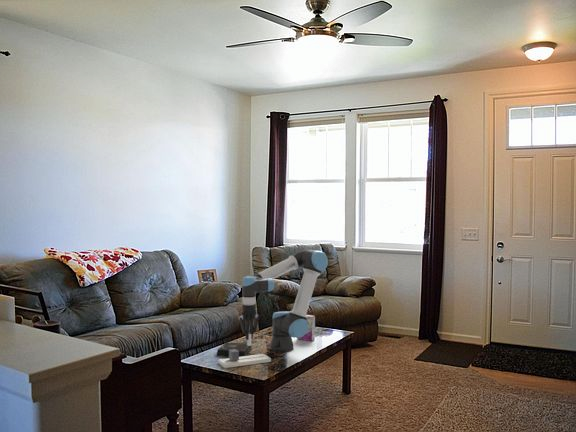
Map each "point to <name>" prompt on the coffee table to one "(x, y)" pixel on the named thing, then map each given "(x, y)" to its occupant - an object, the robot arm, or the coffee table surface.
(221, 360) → the board
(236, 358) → the fader knob
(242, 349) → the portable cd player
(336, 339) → the coffee table surface
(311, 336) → the candy bar box
